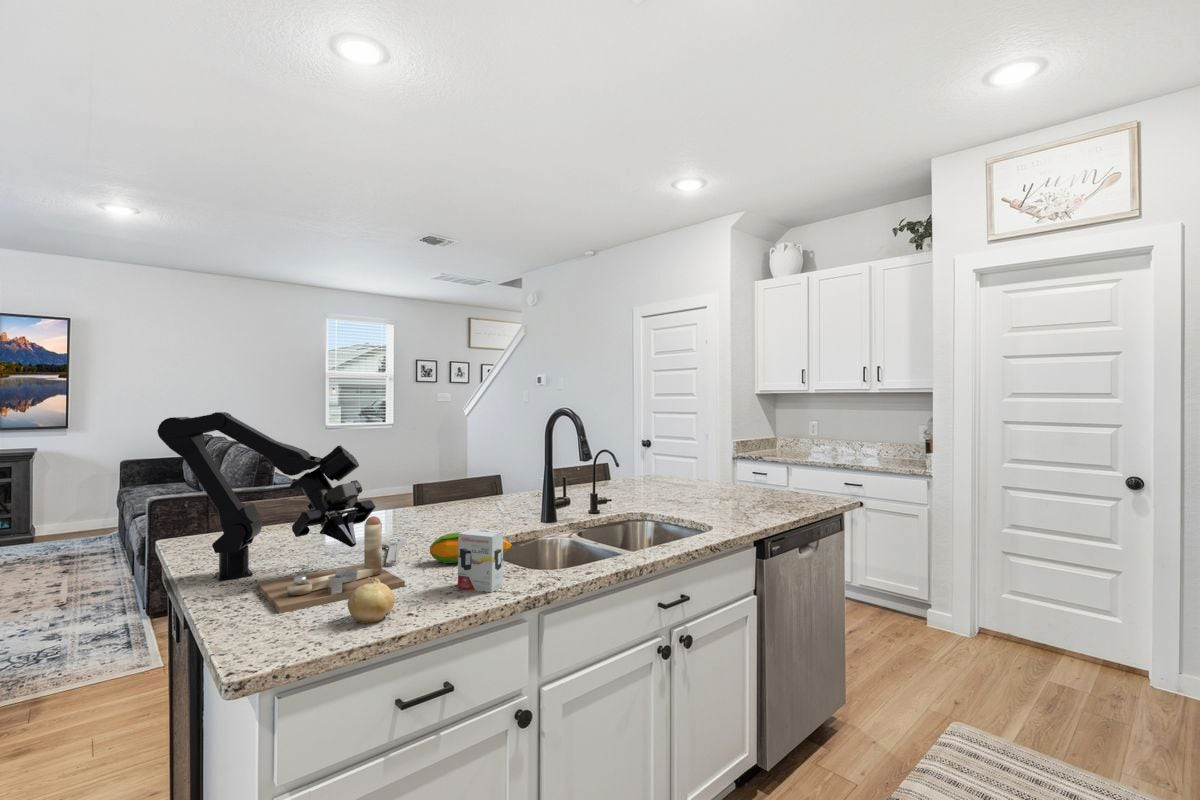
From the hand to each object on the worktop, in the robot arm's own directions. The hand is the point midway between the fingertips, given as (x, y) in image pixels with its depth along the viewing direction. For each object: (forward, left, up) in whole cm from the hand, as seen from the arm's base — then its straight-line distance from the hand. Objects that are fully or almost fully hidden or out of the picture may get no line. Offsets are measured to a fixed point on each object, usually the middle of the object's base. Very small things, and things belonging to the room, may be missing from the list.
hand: (353, 545), depth 130 cm
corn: (+4, +27, -8) cm, 28 cm away
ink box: (+25, +18, -7) cm, 32 cm away
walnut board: (+4, -6, -7) cm, 10 cm away
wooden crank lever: (+6, -5, -6) cm, 10 cm away
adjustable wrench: (-15, +14, -8) cm, 22 cm away
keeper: (+11, -8, -6) cm, 15 cm away
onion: (+28, -6, -7) cm, 29 cm away
